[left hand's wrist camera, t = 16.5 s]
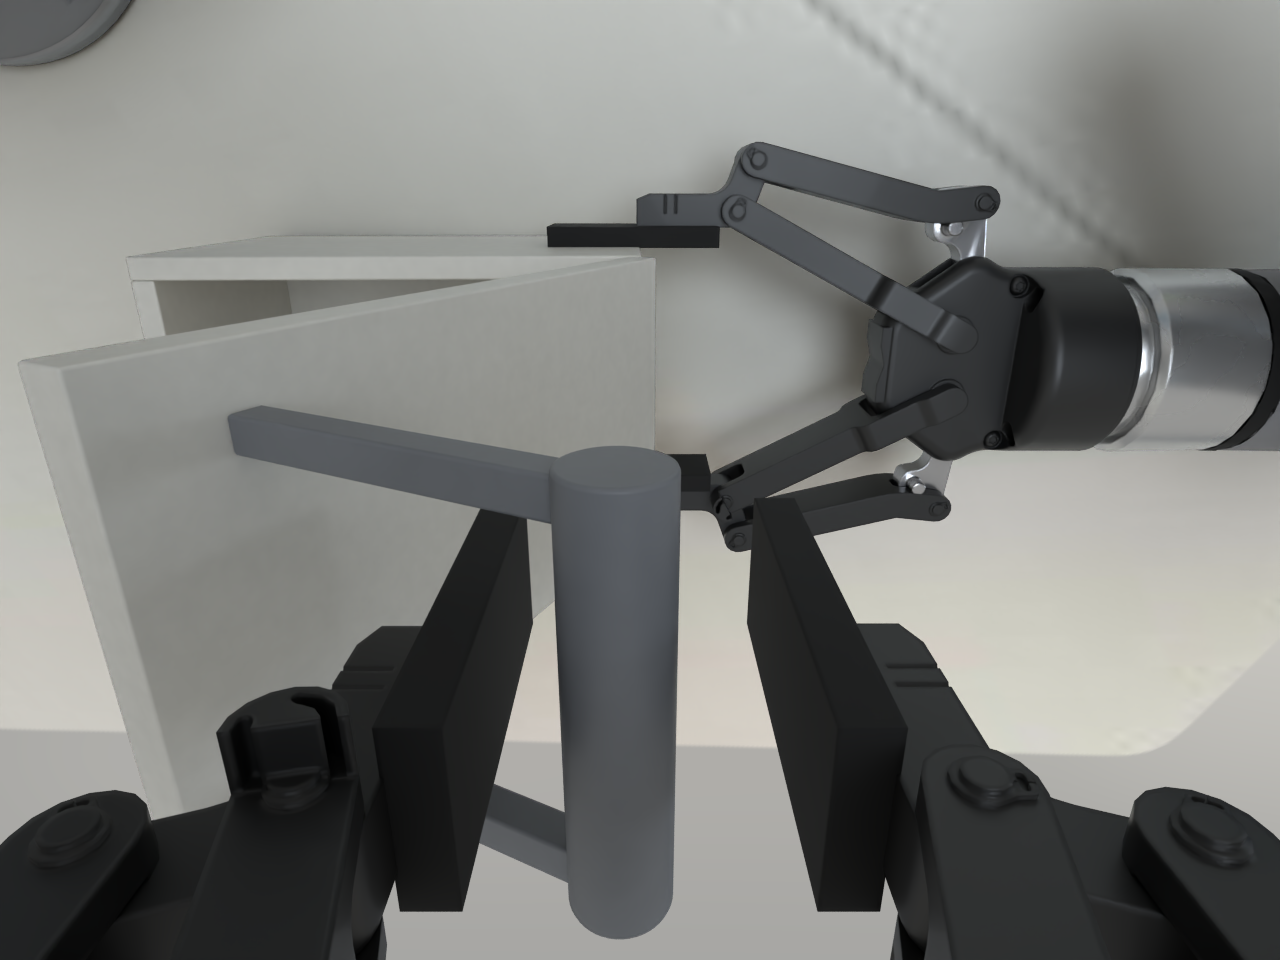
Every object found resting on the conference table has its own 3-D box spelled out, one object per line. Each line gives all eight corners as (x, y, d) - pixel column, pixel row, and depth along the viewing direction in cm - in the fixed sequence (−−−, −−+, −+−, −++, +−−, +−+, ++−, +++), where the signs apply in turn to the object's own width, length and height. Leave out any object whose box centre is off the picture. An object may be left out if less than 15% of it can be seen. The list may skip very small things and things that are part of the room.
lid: (166, 872, 14) (586, 1123, 10) (13, 360, 10) (558, 455, 7) (630, 513, 29) (867, 561, 25) (628, 256, 25) (901, 267, 22)
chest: (301, 425, 39) (184, 513, 29) (270, 235, 36) (124, 256, 25) (637, 423, 39) (642, 509, 29) (637, 235, 36) (642, 255, 26)
